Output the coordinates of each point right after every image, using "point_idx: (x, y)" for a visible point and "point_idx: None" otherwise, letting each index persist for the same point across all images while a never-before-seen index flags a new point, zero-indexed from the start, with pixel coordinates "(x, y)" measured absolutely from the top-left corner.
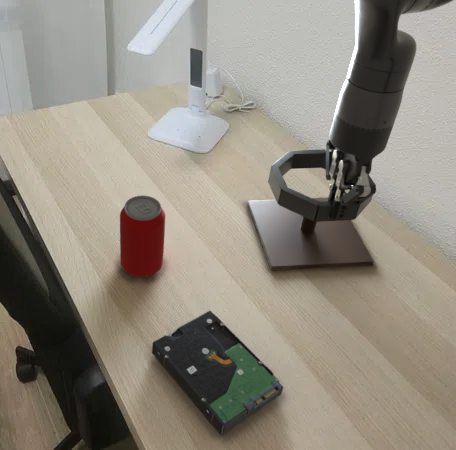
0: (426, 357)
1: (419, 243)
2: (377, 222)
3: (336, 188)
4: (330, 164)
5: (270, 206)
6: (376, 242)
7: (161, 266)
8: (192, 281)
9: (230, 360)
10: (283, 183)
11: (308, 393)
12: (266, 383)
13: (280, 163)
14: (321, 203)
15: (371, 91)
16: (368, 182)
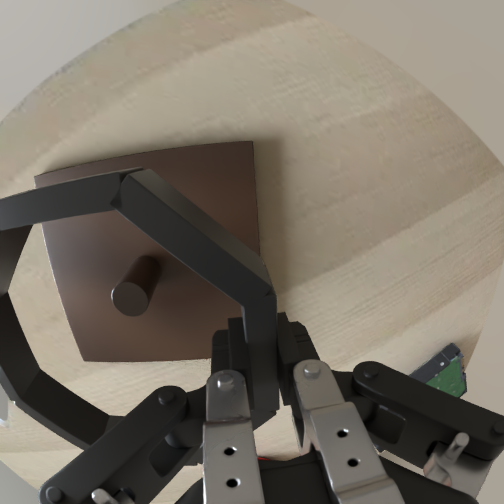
0: (450, 143)
1: (180, 19)
2: (104, 92)
3: (250, 415)
4: (167, 480)
5: (88, 328)
6: (173, 109)
7: (263, 459)
8: (282, 430)
9: None
10: None
11: (457, 313)
12: (455, 367)
13: (78, 441)
14: (264, 406)
15: None
16: (488, 470)
